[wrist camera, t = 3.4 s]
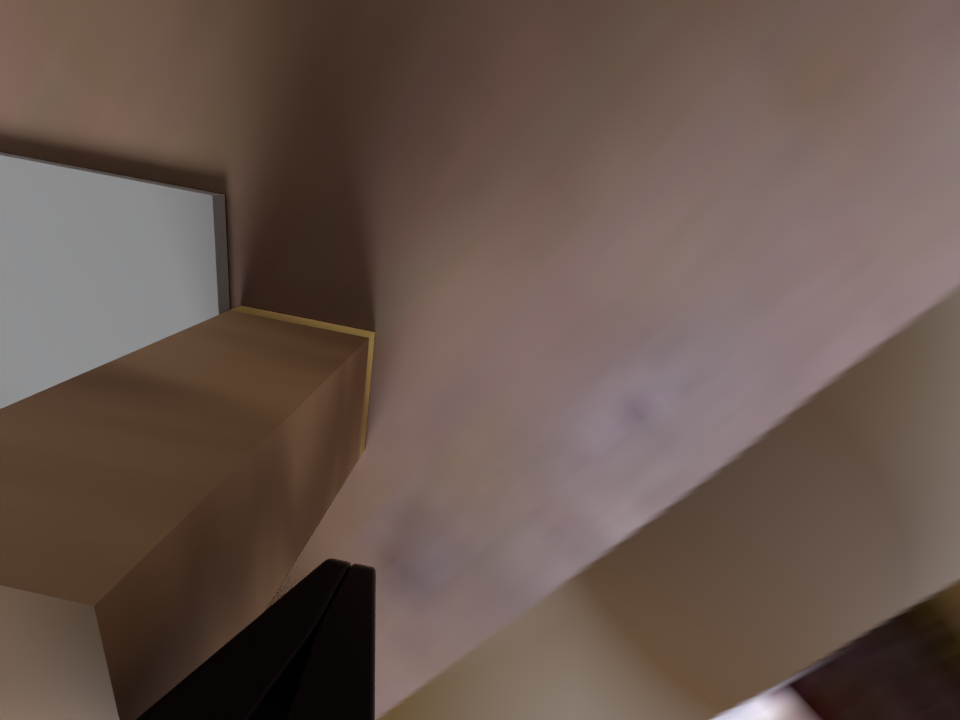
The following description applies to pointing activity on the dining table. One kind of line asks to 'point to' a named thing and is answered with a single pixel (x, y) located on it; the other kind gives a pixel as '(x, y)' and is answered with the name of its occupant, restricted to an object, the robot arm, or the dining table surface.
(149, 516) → the walnut block
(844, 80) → the dining table surface
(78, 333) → the mat
